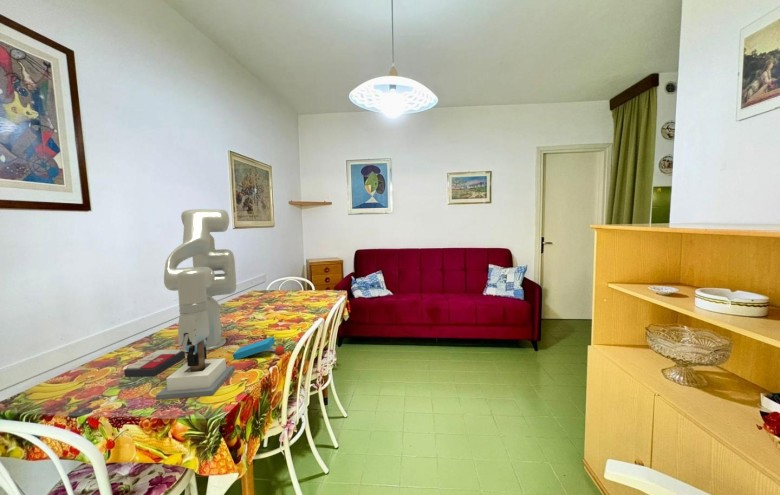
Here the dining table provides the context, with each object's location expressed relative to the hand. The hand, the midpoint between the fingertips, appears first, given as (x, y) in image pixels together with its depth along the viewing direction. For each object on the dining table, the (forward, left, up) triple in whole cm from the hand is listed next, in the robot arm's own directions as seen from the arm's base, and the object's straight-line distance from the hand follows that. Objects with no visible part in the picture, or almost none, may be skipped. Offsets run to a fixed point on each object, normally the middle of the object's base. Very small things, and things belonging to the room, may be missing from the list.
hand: (197, 362), depth 95 cm
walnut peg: (0, 0, -3) cm, 3 cm away
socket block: (0, 0, -7) cm, 7 cm away
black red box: (-16, -23, -8) cm, 29 cm away
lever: (-21, +13, -8) cm, 26 cm away
